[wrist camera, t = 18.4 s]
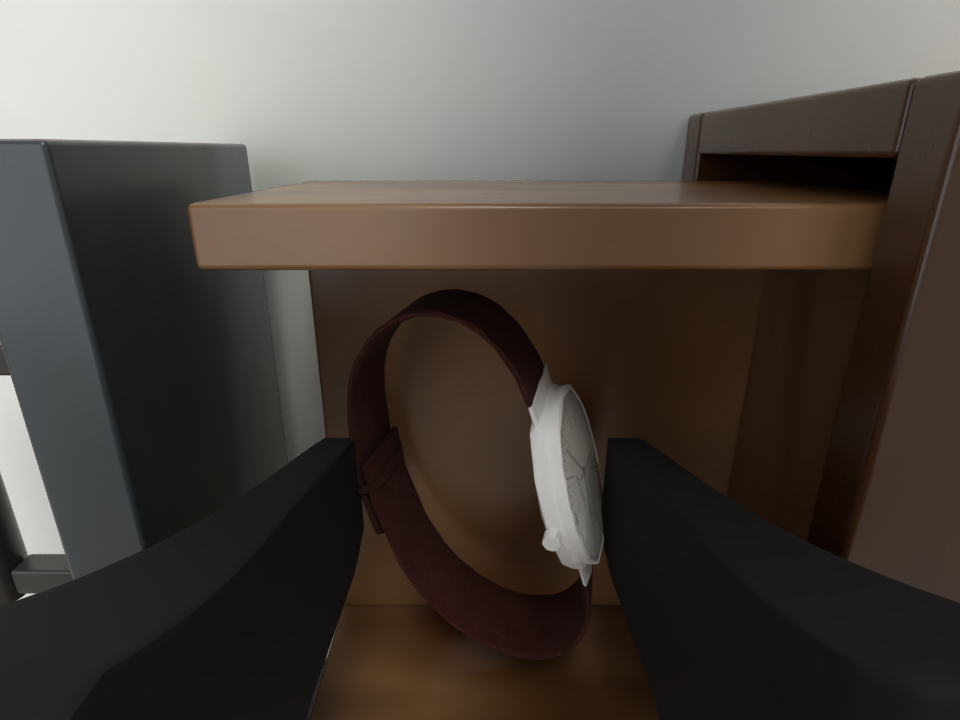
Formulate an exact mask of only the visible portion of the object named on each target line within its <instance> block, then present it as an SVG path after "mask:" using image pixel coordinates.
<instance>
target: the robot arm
mask: <svg viewBox="0 0 960 720" xmlns="http://www.w3.org/2000/svg"><path fill="white" fill-rule="evenodd" d="M358 487H359V484H358V474H357V463H356V451H355V442H354V440H353V441H350V440H349V438H325V439H323V440H321V441H319V442H318V443H316V444H315V445H313V446H312V447H310V448H309V449H308V450H306V451H305V452H303V453H302V454H301V455H299V456H298V457H296V458H295V459H294V460H292V461H291V462H289V463H288V464H287V465H285V466H284V467H282V468H281V469H280V470H278V471H277V472H275V473H274V474H273V475H271V476H270V477H268V478H267V479H265V480H264V481H263V482H261V483H260V484H258V485H257V486H255V487H254V488H252V489H251V490H249V491H247V492H246V493H244V494H243V495H241V496H240V497H238V498H237V499H235V500H233V501H232V502H230V503H229V504H227V505H226V506H224V507H222V508H221V509H219V510H218V511H216V512H215V513H213V514H211V515H209V516H208V517H206V518H204V519H203V520H201V521H199V522H197V523H195V524H194V525H192V526H190V527H188V528H186V529H184V530H182V531H180V532H179V533H177V534H175V535H173V536H171V537H169V538H167V539H165V540H163V541H161V542H159V543H157V544H155V545H153V546H151V547H149V548H147V549H145V550H142V551H140V552H138V553H135V554H133V555H131V556H129V557H126V558H124V559H122V560H120V561H117V562H115V563H113V564H110V565H108V566H106V567H104V568H101V569H99V570H97V571H94V572H92V573H90V574H87V575H85V576H82V577H80V578H77V579H75V580H72V581H70V582H67V583H64V584H62V585H59V586H56V587H54V588H51V589H48V590H46V591H43V592H40V593H37V594H34V595H31V596H29V597H26V598H23V599H20V600H17V601H14V602H11V603H9V604H6V605H3V606H0V720H307V716H308V712H309V708H310V704H311V701H312V698H313V695H314V691H315V688H316V685H317V681H318V678H319V676H320V673H321V670H322V667H323V664H324V661H325V658H326V655H327V653H328V650H329V647H330V644H331V641H332V638H333V635H334V633H335V630H336V627H337V624H338V621H339V618H340V615H341V613H342V610H343V607H344V604H345V601H346V598H347V595H348V592H349V589H350V586H351V583H352V580H353V577H354V574H355V570H356V565H357V561H358V556H359V551H360V546H361V541H362V536H363V531H364V519H363V507H362V497H361V494H360V495H359V489H358ZM601 511H602V521H603V534H604V542H603V545H604V550H605V554H606V559H607V563H608V568H609V572H610V576H611V579H612V581H613V584H614V587H615V590H616V593H617V596H618V599H619V602H620V604H621V607H622V610H623V613H624V616H625V619H626V621H627V624H628V627H629V630H630V632H631V635H632V638H633V641H634V644H635V646H636V649H637V652H638V655H639V658H640V660H641V663H642V666H643V669H644V672H645V674H646V677H647V680H648V683H649V686H650V690H651V693H652V696H653V699H654V702H655V706H656V709H657V713H658V717H659V720H960V603H959V602H956V601H953V600H950V599H947V598H944V597H941V596H938V595H935V594H932V593H930V592H927V591H924V590H921V589H918V588H916V587H913V586H910V585H908V584H905V583H902V582H900V581H897V580H894V579H892V578H889V577H886V576H884V575H881V574H879V573H877V572H874V571H872V570H869V569H867V568H865V567H862V566H860V565H858V564H855V563H853V562H850V561H848V560H846V559H843V558H841V557H839V556H836V555H834V554H832V553H830V552H828V551H825V550H823V549H821V548H819V547H817V546H815V545H813V544H811V543H809V542H807V541H805V540H803V539H801V538H799V537H797V536H795V535H793V534H791V533H789V532H787V531H785V530H783V529H781V528H779V527H777V526H775V525H774V524H772V523H770V522H768V521H766V520H765V519H763V518H761V517H759V516H757V515H756V514H754V513H753V512H751V511H749V510H748V509H746V508H744V507H743V506H741V505H739V504H738V503H736V502H734V501H733V500H731V499H729V498H728V497H726V496H725V495H723V494H722V493H720V492H718V491H717V490H715V489H714V488H712V487H711V486H709V485H708V484H706V483H705V482H703V481H702V480H700V479H699V478H698V477H696V476H695V475H693V474H692V473H690V472H689V471H687V470H686V469H685V468H683V467H682V466H680V465H679V464H678V463H676V462H675V461H673V460H672V459H670V458H669V457H668V456H666V455H665V454H663V453H662V452H661V451H659V450H658V449H656V448H655V447H653V446H652V445H650V444H649V443H647V442H646V441H644V440H642V439H640V438H608V441H607V452H606V464H605V475H604V487H603V498H602V510H601Z"/></svg>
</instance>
